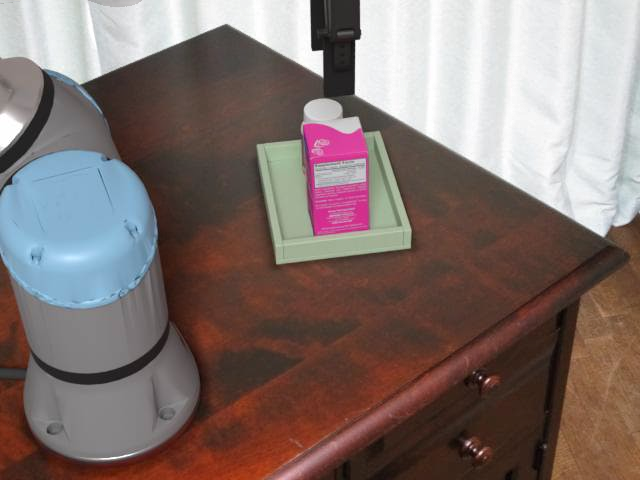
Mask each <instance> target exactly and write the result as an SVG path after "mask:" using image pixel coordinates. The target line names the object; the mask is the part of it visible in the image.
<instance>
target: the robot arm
mask: <svg viewBox="0 0 640 480" xmlns="http://www.w3.org/2000/svg"><path fill="white" fill-rule="evenodd" d="M309 12H310V13H309V14H310V15H309V16H310V19H309V20H310V21H309V22H310V49H311V52H321V51H322V77H323V78H322V83H323V84H322V85H323V87H322V88H323V91H322V93H323V98H324V99H329V98H337V97H345V96H346V97H347V96H356V41H359V40H361V38H362V29H361V0H309ZM118 151H119V150H118V149H117V147H116V145H115V142H114V140H113V138H112V135H111V129H110V125H109V123H108V121H107V119H106V117H105V116H104V114H103V110H102V109H101V108H100V106H99V104H98V103H97V102H96V101H95V99H94V98H93V97H92V96H91V95H90V94H89V92H88V91H87V90H86V89H85V88H84V87H83V86H82V85H81V84H79V83H78V82H77V81H76V80H74V79H72V78H71V77H69V76H67V75H66V74H63V73H61V72H59V71H55V70H52V69H47V68H42V67H41V66H39V65H38V64H37V63H36V62H35V61H34V60H32V59H30V58H28V57H24V56H13V57H7V58H6V57H5V58H2V57H1V56H0V257H1V261H2V262H3V264H4V266H5V267H6V269H7V273H8V276H9V280H10V284H11V287H12V290H13V294H14V298H15V301H16V305H17V309H18V312H19V315H20V319H21V323H22V326H23V330H24V334H25V337H26V341H27V343H28V348H29V351H30V352H29V358H28V363H27V368H17V367H0V380H13V381H14V380H15V381H16V380H18V381H24V385H23V393H22V394H23V395H22V396H23V409H24V415H25V419H26V422H27V425H28V427H29V430H30V433H31V435H32V436H33V438H34V440H35V441H36V442H37V444H39V446H40V447H41V448H42V449H43V450H44V451H45V452H47V453H48V454H50V456H53V457H54V458H56V459H58V460H60V461H62V462H65V463H67V464H69V465H73V466H77V467H81V468H82V467H83V468H88V469H112V468H113V469H114V468H120V467H125V466H131V465H133V464H137V463H139V462H142V461H146V460H147V459H150V458H152V457H154V456H156V455H159V453H161V452H163V451H164V450H166V449H168V447H170V446H172V445H173V444H174V443H175V442H176V441H177V440H178V439H179V438H180V437H181V436H182V435H183V434H184V433H185V432H186V431H187V429H189V427H190V425H191V424H192V422H193V421H194V419H195V417H196V415H197V413H198V410H199V407H200V402H201V396H202V386H201V379H200V373H199V368H198V365H197V363H196V360H195V357H194V355H193V353H192V351H191V349H190V348H189V345H188V343H186V341H185V339H184V337H183V336H182V333H181V332H180V331H179V329H178V328H177V326H176V324H175V323H174V321H172V320H171V319H170V315H169V308H168V303H167V302H168V301H167V296H166V289H165V283H164V276H163V269H162V263H161V257H160V251H159V242H158V240H159V232H158V223H157V222H158V221H157V215H156V212H155V208H154V206H153V204H152V201H151V198H150V197H149V194H148V191H147V189H146V187H145V184H144V182H143V181H142V180H141V179H140V177H139V176H138V174H137V173H136V172H135V171H134V170H132V169H131V167H130V166H128V165H127V164H125V163H124V162H123V161H122V157H121V155H120V154H119V152H118Z"/></svg>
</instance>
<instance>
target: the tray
mask: <svg viewBox="0 0 640 480" xmlns="http://www.w3.org/2000/svg"><path fill="white" fill-rule="evenodd" d="M363 133H364V137H365V140H366V144H367V148H368V159H369V222H370V230H364V231H356V232H347V233H339V234H330V235H322V236H314V234H313V229H312V224H311V220H310V216H309V213H308V208H307V194H306V179H305V177H304V176H303V171H302V148H301V139H293V140H284V141H275V142H266V143H257V144H256V145H255V146H256V156H257V157H256V159H257V166H258V167H257V168H258V172H259V177H260V178H259V179H260V182H261V183H260V184H261V188H262V189H261V190H262V193H263V198H264V199H263V200H264V204H265V205H264V206H265V210H266V216H267V221H268V226H269V231H270V238H271V244H272V248H273V254H274V259H275V264H276V265H284V264H292V263H301V262H308V261H316V260H327V259H332V258H333V259H334V258H335V259H336V258H343V257H350V256H359V255H368V254H375V253H385V252H394V251H401V250H409V249H411V248H412V232H413V231H412V226H411V224H410V221H409V218H408V214H407V212H406V208H405V205H404V202H403V199H402V196H401V192H400V189H399V186H398V183H397V180H396V177H395V174H394V169H393V167H392V165H391V161H390V159H389V155H388V153H387V152H388V151H387V149H386V146H385V142H384V140H383V137H382V133H381V131H380V130H375V131H366V132H363Z"/></svg>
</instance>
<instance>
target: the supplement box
mask: <svg viewBox="0 0 640 480" xmlns="http://www.w3.org/2000/svg"><path fill="white" fill-rule="evenodd" d="M362 127H363V126H362V123H361V120H360V118H359V116H349V117H343V118H342V119H335V120H327V121H318V122H309V123H303V142H304V161H305V176H306V194H307V208H308V213H309V216H310V220H311V224H312V229H313V234H314V236H322V235H330V234H339V233H347V232H356V231H364V230H370V222H369V159H368V148H367V144H366V140H365V137H364V133H365V132H364V131H363V128H362Z"/></svg>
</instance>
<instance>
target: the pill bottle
mask: <svg viewBox="0 0 640 480" xmlns="http://www.w3.org/2000/svg"><path fill="white" fill-rule="evenodd" d="M343 111H344V110H343V106H342V104H341V103H340V102H338V101H336V100H335V99H331V98H316V99H312V100H310V101H308V102H307V103H306V104H305V105H304V107H303V121H302V122H301V125H300V140H301V148H302V171H303V176H304V177H305V179H306V176H305V161H304V142H303V123H309V122H318V121H327V120H335V119H342V118H344V116H343V115H344V113H343Z"/></svg>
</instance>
